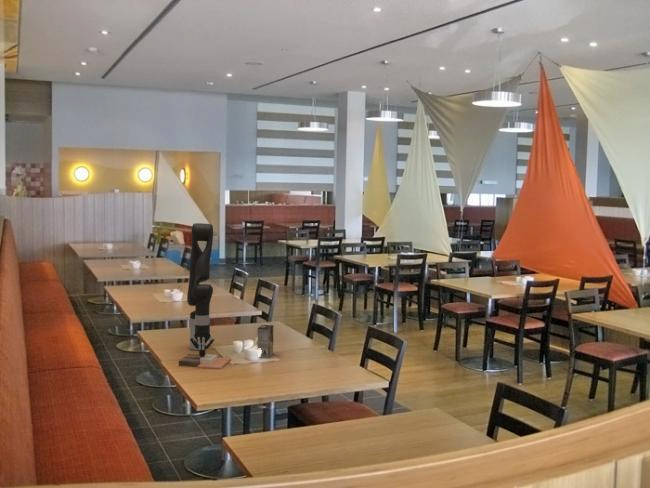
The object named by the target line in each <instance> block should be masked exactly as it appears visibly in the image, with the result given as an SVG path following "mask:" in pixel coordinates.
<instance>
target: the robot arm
mask: <svg viewBox="0 0 650 488" xmlns="http://www.w3.org/2000/svg"><path fill="white" fill-rule="evenodd" d="M190 237H191V247H190V248H191V251H190V262H189V277H188V278H189V279H188V288H187V296H186V297H187V298H186V301H187V304H188V306H191V307H194V308H195V309H194V310H193V311H191V312H190V313H189V349H190V350H192V351H194V350H195V351H199V352H198V353H199V354H198V355H200V357H204V356H205V355H206V350H208V349H209V348H210V347H211V346H212V344H213V343H214V342H215V340H216V339H215V338H213V337H212V336H211V335H212V334H211V318H210V317H211V316H210V304H211V299H212V297H213V293H214V287H213V286H212V285H211V284H210V283H209V284H206V283H204V284H202V283H201V282H204V281H208V280H209V279H210V276H211V273H210V272H211V267H210V266H211V257H212V249H213V242H214V241H213V240H214V227H213V225H212V223H200V222H199V223H193V224H192V226H191V236H190ZM198 242H206V243H205V248H204V250H202V249H201V247H200V245H199V243H198Z"/></svg>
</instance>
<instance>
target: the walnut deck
mask: <svg viewBox="0 0 650 488" xmlns="http://www.w3.org/2000/svg"><path fill="white" fill-rule="evenodd" d="M200 358H202V357H200V355H199V354H195V353H193V354H192V353H187V354H186V355H185V356H184V357H182V358H181V359H180V360H178V366H179V367H190V366H191V368H198V365H200Z"/></svg>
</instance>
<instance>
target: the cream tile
mask: <svg viewBox="0 0 650 488" xmlns="http://www.w3.org/2000/svg"><path fill="white" fill-rule="evenodd" d="M217 357H218V354H209V353H208V354H207V353H205V356H204V357H202V358H200V364H212V363H214V362H215V361H216V360H217Z"/></svg>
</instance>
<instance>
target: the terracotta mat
mask: <svg viewBox="0 0 650 488" xmlns="http://www.w3.org/2000/svg"><path fill="white" fill-rule="evenodd" d="M230 360H231V361H232V358H231V357H218V356H217V360H216V361H215V362H214V363H212V364H200V365H198V367H197V369H205V370H206V369H208V370H209V369H210V370H222V369H223V368H224V367H225V366H227V365H228V364H229V363H230V362H231V361H230Z"/></svg>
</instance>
